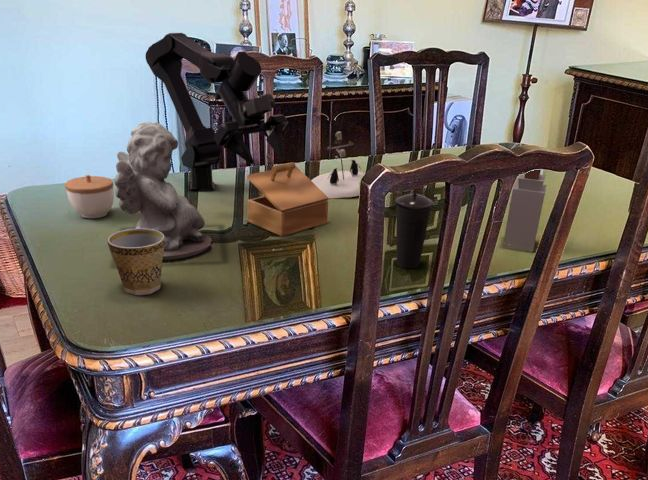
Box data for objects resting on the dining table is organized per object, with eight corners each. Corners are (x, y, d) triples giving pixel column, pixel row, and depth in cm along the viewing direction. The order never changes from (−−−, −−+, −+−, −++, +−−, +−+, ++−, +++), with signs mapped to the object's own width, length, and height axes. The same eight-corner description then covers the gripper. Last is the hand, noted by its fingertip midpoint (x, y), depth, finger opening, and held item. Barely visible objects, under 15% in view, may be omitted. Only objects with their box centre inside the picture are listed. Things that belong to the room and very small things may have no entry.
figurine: (357, 172, 190) (355, 116, 181) (391, 190, 177) (391, 130, 168) (297, 187, 182) (292, 129, 173) (329, 206, 169) (325, 145, 160)
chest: (248, 221, 154) (247, 199, 151) (293, 209, 163) (293, 188, 160) (281, 236, 146) (281, 213, 143) (327, 222, 155) (328, 201, 152)
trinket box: (124, 208, 159) (118, 170, 154) (106, 223, 150) (100, 183, 145) (82, 205, 159) (76, 168, 155) (62, 219, 150) (54, 180, 145)
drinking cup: (430, 261, 137) (441, 167, 126) (419, 274, 131) (430, 176, 120) (397, 254, 139) (405, 162, 129) (384, 266, 133) (392, 170, 123)
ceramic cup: (171, 296, 118) (166, 245, 113) (114, 301, 115) (106, 249, 110) (167, 268, 128) (161, 221, 123) (115, 273, 126) (107, 224, 121)
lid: (246, 177, 148) (250, 160, 145) (293, 167, 157) (298, 151, 154) (281, 213, 144) (286, 196, 140) (327, 200, 153) (333, 184, 149)
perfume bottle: (534, 242, 149) (550, 164, 140) (532, 252, 143) (549, 172, 134) (505, 237, 151) (519, 161, 141) (502, 247, 145) (516, 168, 136)
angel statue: (114, 267, 128) (94, 139, 115) (124, 228, 147) (107, 115, 134) (225, 262, 132) (218, 138, 119) (221, 225, 151) (214, 115, 138)
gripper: (218, 85, 141) (251, 146, 140) (283, 78, 152) (313, 135, 151) (200, 116, 149) (231, 174, 149) (262, 108, 161) (291, 161, 160)
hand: (268, 160), depth 152 cm, fingers open, 9 cm apart
